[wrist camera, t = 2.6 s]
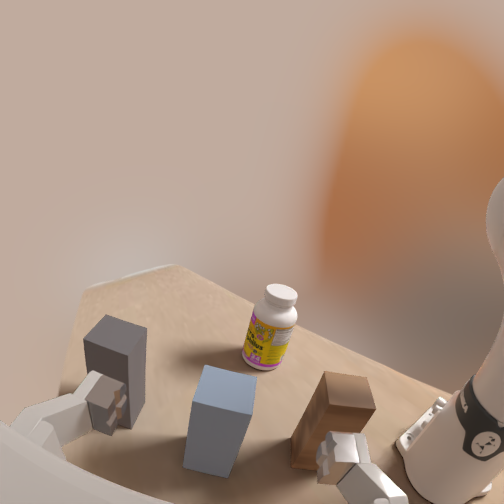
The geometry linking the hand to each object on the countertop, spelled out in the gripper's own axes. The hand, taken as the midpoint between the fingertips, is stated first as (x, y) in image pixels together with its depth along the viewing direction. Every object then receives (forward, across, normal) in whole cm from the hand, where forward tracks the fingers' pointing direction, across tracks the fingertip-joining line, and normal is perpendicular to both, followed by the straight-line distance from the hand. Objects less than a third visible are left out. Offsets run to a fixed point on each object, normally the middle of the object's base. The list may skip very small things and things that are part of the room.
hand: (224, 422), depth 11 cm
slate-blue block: (+12, 0, +22) cm, 25 cm away
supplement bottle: (+33, -4, +22) cm, 40 cm away
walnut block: (+15, -12, +22) cm, 29 cm away
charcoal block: (+15, +12, +22) cm, 29 cm away
